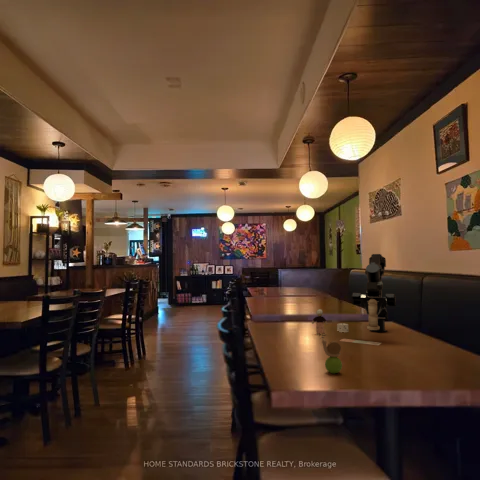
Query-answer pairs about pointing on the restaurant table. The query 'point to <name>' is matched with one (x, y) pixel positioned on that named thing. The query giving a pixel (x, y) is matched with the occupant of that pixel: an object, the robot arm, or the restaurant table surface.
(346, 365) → the restaurant table surface
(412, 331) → the restaurant table surface
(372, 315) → the pawn
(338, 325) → the die
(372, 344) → the board
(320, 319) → the grandmother figurine
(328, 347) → the snail figurine
